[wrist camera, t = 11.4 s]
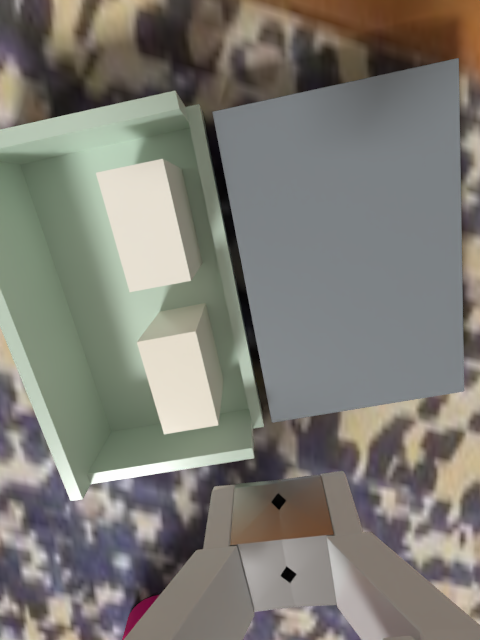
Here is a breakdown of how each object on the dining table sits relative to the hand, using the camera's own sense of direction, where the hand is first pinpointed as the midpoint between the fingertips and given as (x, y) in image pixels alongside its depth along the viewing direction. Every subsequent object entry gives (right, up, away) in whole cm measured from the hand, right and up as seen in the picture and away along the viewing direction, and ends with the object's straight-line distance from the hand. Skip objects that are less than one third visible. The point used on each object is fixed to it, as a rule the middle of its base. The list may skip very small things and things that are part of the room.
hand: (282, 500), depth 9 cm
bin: (-6, +5, +11) cm, 14 cm away
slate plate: (+4, +7, +11) cm, 14 cm away
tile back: (-2, +2, +9) cm, 10 cm away
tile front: (-3, +9, +8) cm, 12 cm away
